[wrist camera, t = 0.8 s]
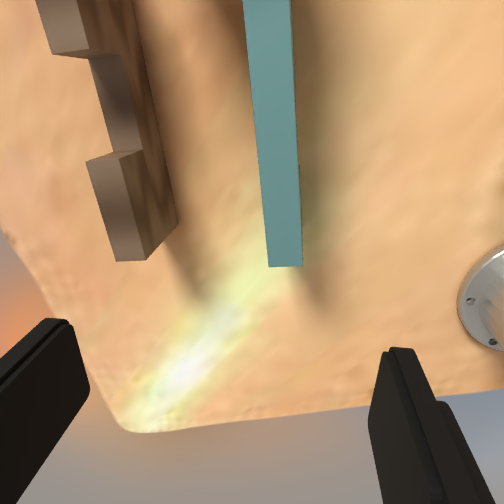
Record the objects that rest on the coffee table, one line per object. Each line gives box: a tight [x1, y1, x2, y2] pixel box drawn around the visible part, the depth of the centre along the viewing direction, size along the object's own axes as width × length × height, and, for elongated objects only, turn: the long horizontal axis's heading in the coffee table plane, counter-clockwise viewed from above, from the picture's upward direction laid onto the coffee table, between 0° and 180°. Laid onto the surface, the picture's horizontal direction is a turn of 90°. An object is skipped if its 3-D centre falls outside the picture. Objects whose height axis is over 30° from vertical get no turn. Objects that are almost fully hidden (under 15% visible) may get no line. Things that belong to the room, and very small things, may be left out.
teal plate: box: [242, 0, 303, 267], centre depth 25 cm, size 18×2×8 cm, turn 6°
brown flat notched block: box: [35, 0, 179, 262], centre depth 26 cm, size 22×2×8 cm, turn 6°
